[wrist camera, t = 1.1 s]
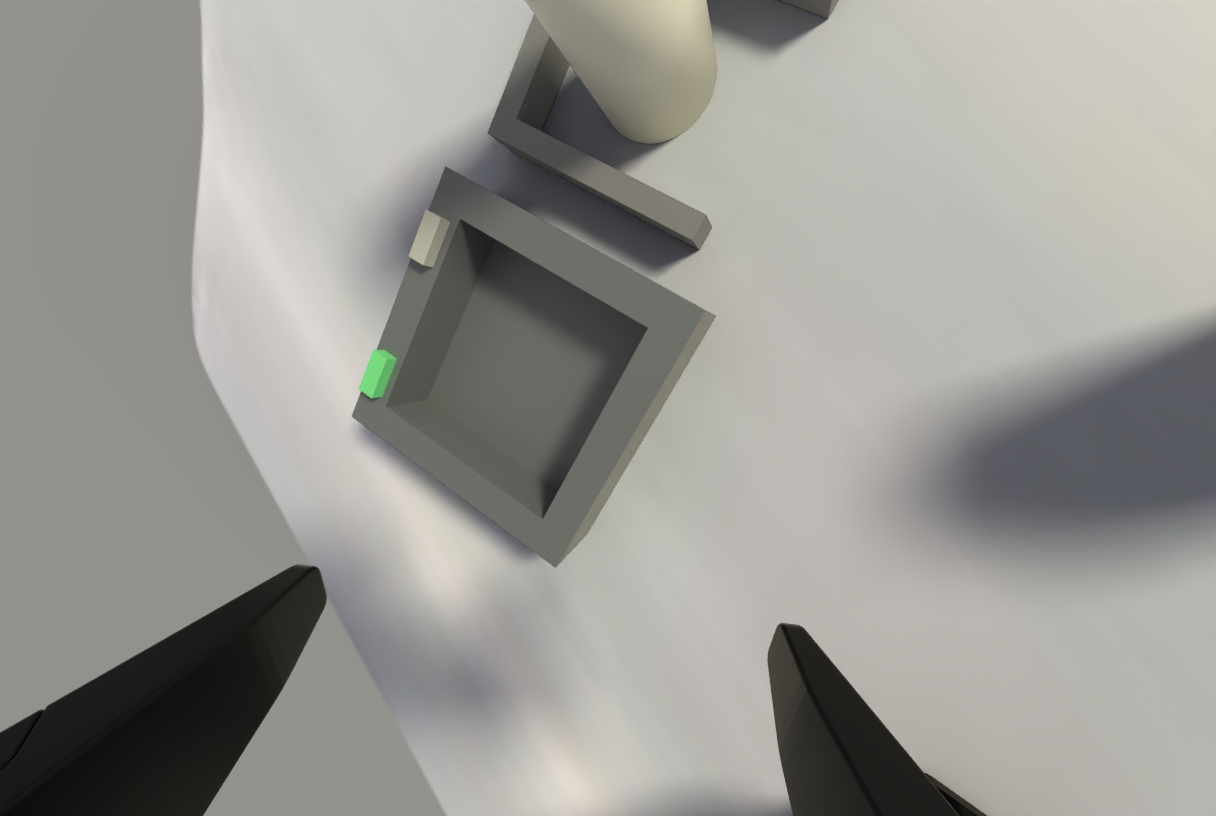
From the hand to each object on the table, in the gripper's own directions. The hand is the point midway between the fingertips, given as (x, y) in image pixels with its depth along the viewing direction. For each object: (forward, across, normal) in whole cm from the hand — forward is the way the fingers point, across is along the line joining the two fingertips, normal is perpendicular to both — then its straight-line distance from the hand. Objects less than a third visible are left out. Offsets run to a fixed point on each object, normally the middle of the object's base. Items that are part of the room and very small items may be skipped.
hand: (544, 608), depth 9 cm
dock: (+14, +3, +1) cm, 15 cm away
